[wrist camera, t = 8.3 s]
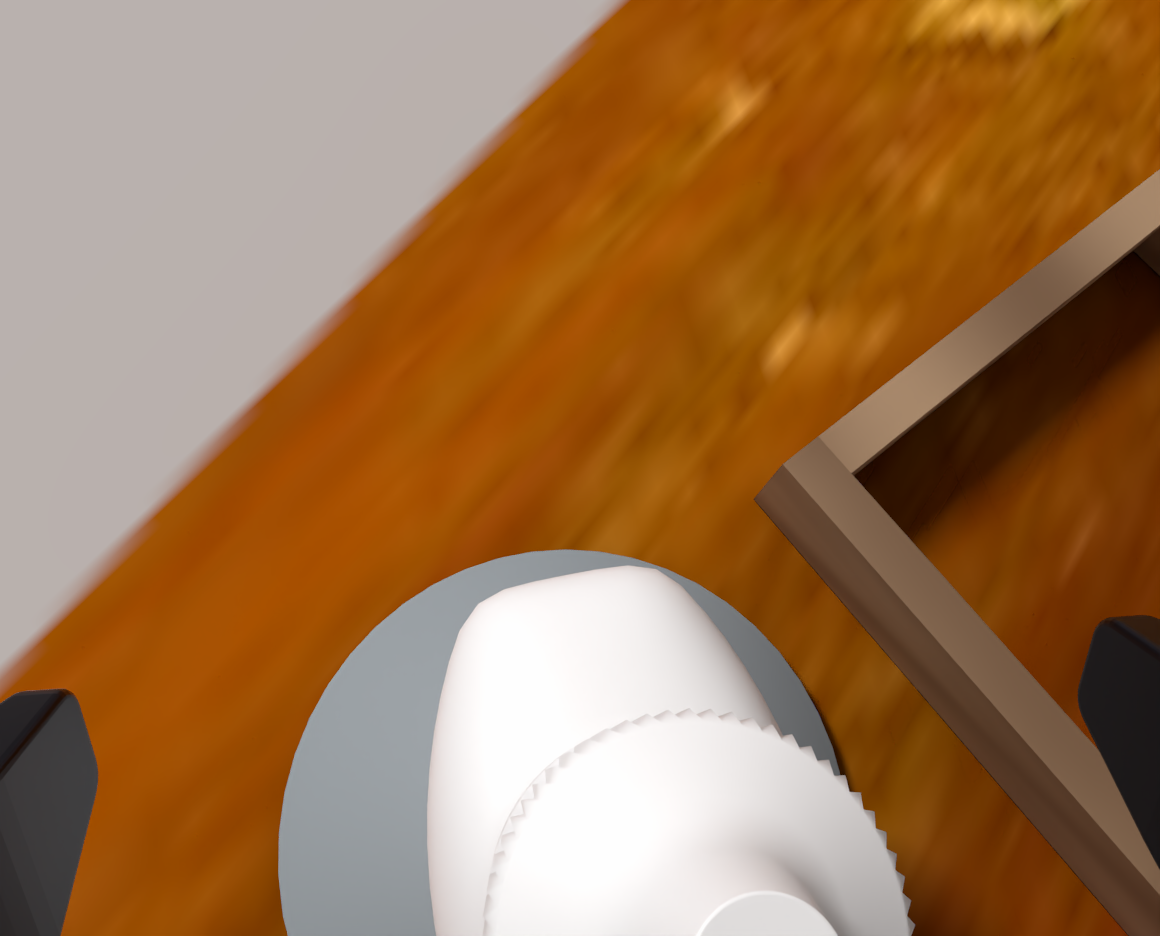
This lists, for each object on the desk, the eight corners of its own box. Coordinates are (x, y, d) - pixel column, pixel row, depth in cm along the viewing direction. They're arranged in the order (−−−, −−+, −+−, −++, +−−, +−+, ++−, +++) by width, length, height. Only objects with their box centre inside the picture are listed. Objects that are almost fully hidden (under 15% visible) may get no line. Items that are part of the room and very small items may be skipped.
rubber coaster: (514, 1304, 14) (515, 1319, 13) (172, 779, 16) (164, 779, 15) (954, 873, 16) (965, 876, 16) (609, 458, 18) (611, 450, 17)
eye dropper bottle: (749, 706, 16) (1324, 516, 5) (659, 1080, 14) (1229, 2159, 3) (498, 626, 16) (485, 256, 5) (377, 986, 15) (-74, 1698, 3)
